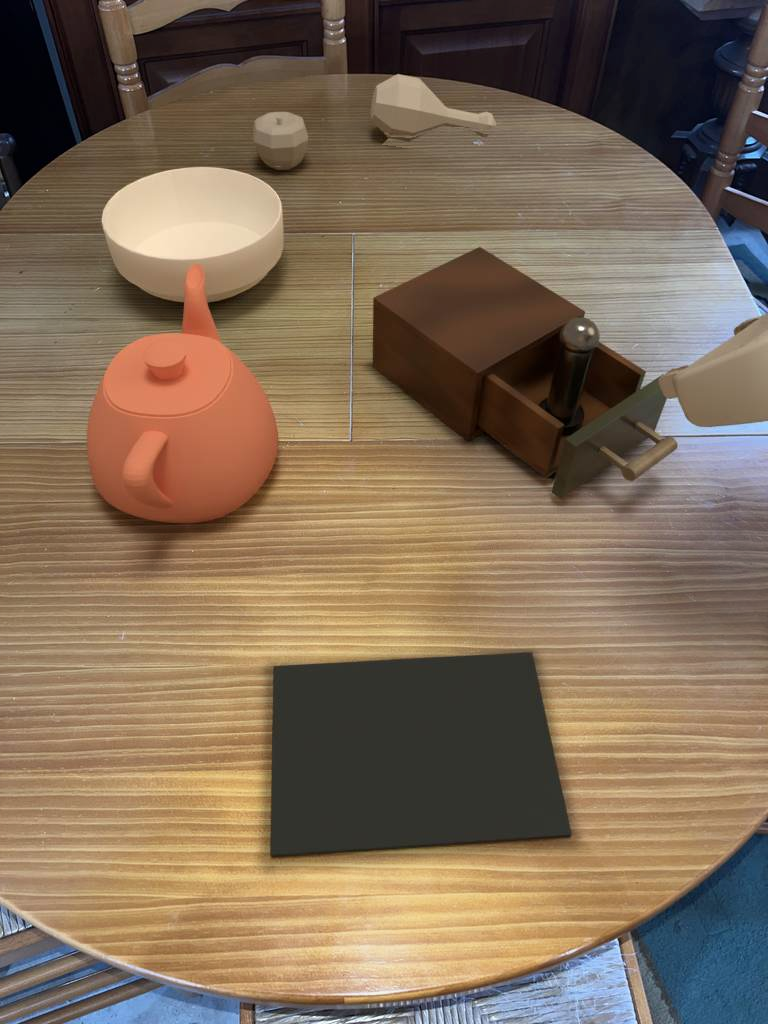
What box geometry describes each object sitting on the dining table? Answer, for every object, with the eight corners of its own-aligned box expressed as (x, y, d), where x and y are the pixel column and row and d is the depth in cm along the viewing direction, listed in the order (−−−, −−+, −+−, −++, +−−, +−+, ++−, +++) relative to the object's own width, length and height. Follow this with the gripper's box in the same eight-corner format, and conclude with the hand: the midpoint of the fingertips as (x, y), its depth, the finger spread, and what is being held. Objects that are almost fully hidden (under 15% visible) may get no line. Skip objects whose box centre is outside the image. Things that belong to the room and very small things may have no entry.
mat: (531, 655, 64) (532, 651, 63) (570, 837, 55) (572, 834, 54) (274, 669, 63) (273, 665, 62) (270, 858, 54) (270, 855, 53)
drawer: (689, 458, 77) (713, 404, 72) (596, 528, 71) (615, 475, 66) (550, 364, 85) (561, 310, 80) (457, 419, 80) (463, 365, 75)
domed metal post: (591, 422, 78) (620, 323, 69) (560, 443, 76) (586, 344, 68) (557, 398, 80) (580, 300, 72) (526, 417, 78) (546, 319, 70)
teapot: (139, 368, 85) (108, 253, 75) (298, 377, 85) (289, 263, 75) (61, 557, 69) (9, 445, 59) (258, 570, 69) (240, 459, 58)
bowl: (140, 345, 88) (123, 277, 81) (103, 251, 99) (85, 185, 93) (311, 303, 93) (308, 236, 87) (257, 219, 105) (250, 154, 98)
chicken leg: (494, 157, 118) (507, 94, 115) (373, 135, 115) (383, 68, 111) (479, 155, 126) (491, 95, 122) (365, 133, 122) (374, 71, 118)
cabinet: (568, 380, 85) (585, 311, 79) (468, 442, 79) (477, 373, 72) (471, 314, 92) (479, 246, 86) (372, 366, 86) (373, 297, 80)
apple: (317, 155, 116) (315, 108, 111) (301, 181, 111) (298, 133, 106) (264, 148, 117) (260, 101, 112) (246, 174, 112) (240, 126, 107)
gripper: (955, 209, 53) (767, 271, 65) (783, 328, 44) (603, 375, 57) (983, 298, 55) (794, 343, 67) (821, 432, 46) (637, 456, 58)
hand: (705, 359), depth 62 cm, fingers open, 8 cm apart
